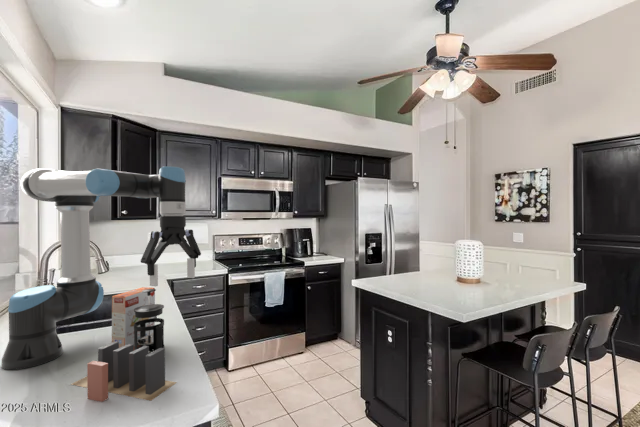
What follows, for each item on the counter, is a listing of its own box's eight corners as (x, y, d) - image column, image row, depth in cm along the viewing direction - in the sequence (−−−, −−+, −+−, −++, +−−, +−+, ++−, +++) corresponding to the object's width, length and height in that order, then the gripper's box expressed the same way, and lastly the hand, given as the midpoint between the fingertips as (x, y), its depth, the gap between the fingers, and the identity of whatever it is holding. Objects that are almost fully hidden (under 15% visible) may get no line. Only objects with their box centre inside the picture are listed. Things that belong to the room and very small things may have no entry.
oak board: (70, 387, 88) (70, 384, 88) (101, 372, 96) (101, 369, 96) (151, 404, 79) (151, 400, 79) (177, 385, 88) (177, 382, 88)
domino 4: (145, 393, 82) (145, 355, 82) (160, 384, 87) (160, 347, 87) (150, 394, 82) (150, 356, 82) (165, 384, 87) (164, 348, 87)
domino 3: (129, 390, 84) (128, 353, 84) (144, 381, 89) (144, 345, 89) (133, 391, 84) (133, 353, 84) (149, 382, 88) (148, 346, 88)
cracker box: (126, 359, 105) (125, 296, 105) (110, 358, 106) (110, 295, 106) (156, 342, 118) (155, 287, 119) (142, 341, 120) (141, 286, 120)
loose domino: (102, 405, 79) (102, 365, 79) (87, 402, 81) (87, 363, 81) (108, 402, 81) (107, 363, 81) (93, 399, 82) (93, 360, 82)
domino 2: (113, 387, 86) (113, 350, 86) (129, 378, 90) (129, 343, 90) (118, 388, 85) (117, 351, 85) (133, 379, 90) (133, 344, 90)
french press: (126, 359, 105) (126, 290, 105) (155, 349, 112) (154, 284, 112) (144, 369, 98) (144, 295, 98) (173, 357, 106) (172, 289, 106)
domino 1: (98, 384, 87) (98, 348, 87) (114, 375, 92) (114, 341, 92) (102, 385, 87) (102, 349, 87) (119, 376, 92) (118, 342, 92)
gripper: (143, 215, 88) (143, 291, 88) (211, 215, 111) (211, 275, 111) (126, 215, 92) (127, 288, 92) (196, 215, 114) (196, 273, 114)
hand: (173, 281), depth 101 cm, fingers open, 13 cm apart
